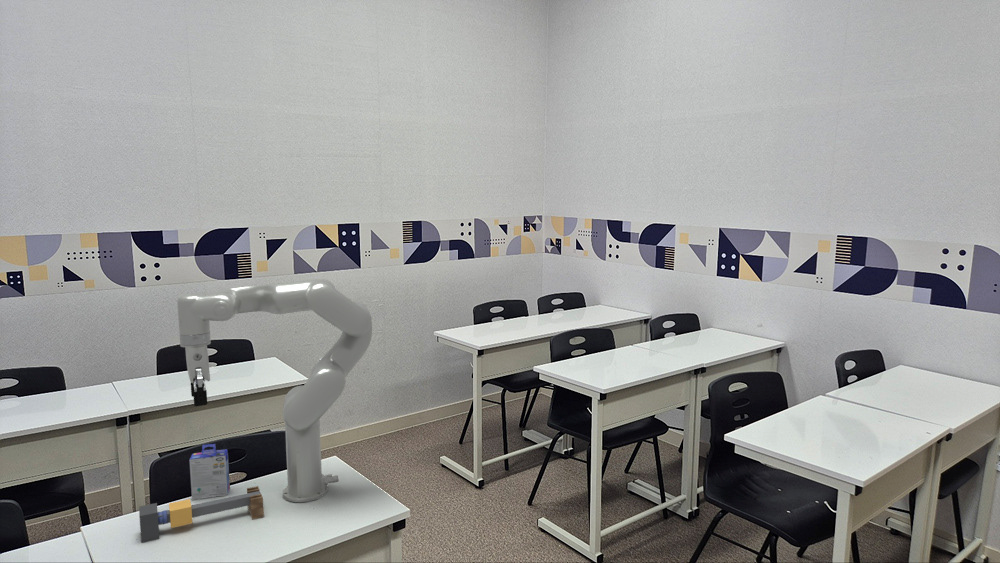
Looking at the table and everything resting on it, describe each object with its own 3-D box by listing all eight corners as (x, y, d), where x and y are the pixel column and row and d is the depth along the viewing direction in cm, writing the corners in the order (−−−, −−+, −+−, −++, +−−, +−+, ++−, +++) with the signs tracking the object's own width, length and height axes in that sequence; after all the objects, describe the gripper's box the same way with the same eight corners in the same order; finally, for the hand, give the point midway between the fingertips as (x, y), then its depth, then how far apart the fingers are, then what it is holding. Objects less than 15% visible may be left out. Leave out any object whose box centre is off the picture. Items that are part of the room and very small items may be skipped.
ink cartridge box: (230, 487, 193) (227, 440, 192) (228, 495, 188) (226, 447, 186) (194, 492, 191) (191, 444, 189) (191, 500, 185) (188, 451, 183)
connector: (164, 527, 170) (162, 501, 169) (164, 537, 165) (162, 511, 164) (141, 532, 168) (139, 506, 167) (141, 542, 163) (139, 516, 162)
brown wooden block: (259, 504, 183) (258, 485, 182) (264, 517, 175) (263, 497, 175) (247, 506, 181) (246, 488, 181) (252, 519, 174) (251, 500, 173)
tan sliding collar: (191, 515, 173) (190, 499, 172) (192, 523, 168) (191, 506, 168) (170, 519, 170) (168, 503, 170) (171, 528, 166) (169, 511, 165)
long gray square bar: (260, 500, 180) (259, 488, 180) (262, 504, 177) (261, 493, 177) (149, 523, 167) (148, 511, 167) (149, 529, 164) (148, 517, 164)
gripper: (213, 343, 171) (217, 407, 173) (207, 332, 186) (211, 390, 188) (181, 347, 167) (186, 411, 169) (178, 335, 182) (182, 394, 184)
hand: (199, 400), depth 179 cm, fingers open, 9 cm apart
